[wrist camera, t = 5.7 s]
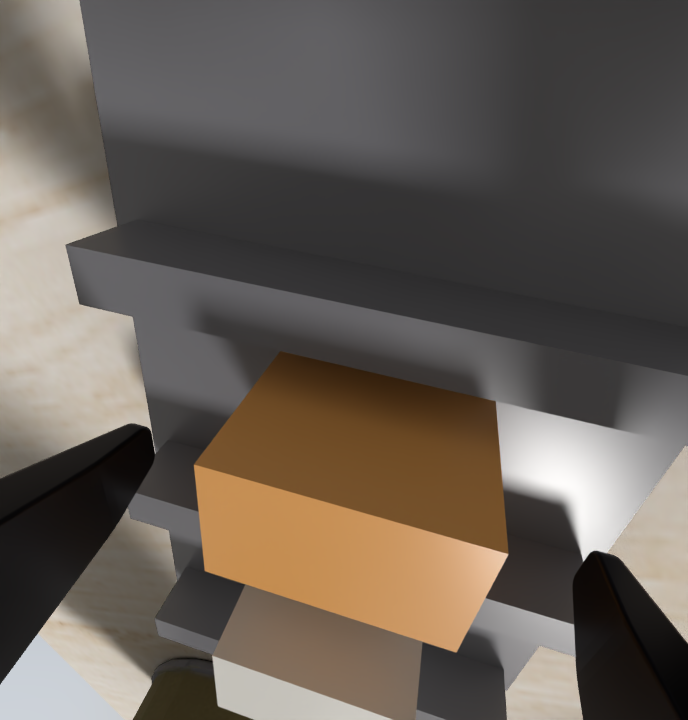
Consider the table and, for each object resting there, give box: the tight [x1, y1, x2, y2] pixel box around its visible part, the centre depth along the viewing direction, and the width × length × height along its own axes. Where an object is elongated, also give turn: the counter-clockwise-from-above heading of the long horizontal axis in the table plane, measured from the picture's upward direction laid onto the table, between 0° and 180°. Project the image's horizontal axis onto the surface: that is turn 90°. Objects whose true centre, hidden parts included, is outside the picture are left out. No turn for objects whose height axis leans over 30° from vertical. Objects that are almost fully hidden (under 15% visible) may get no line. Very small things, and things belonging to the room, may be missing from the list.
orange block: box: [194, 351, 509, 652], centre depth 9 cm, size 5×3×4 cm, turn 83°
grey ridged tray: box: [66, 0, 688, 720], centre depth 10 cm, size 13×21×3 cm, turn 173°
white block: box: [212, 584, 422, 720], centre depth 13 cm, size 5×3×4 cm, turn 83°
